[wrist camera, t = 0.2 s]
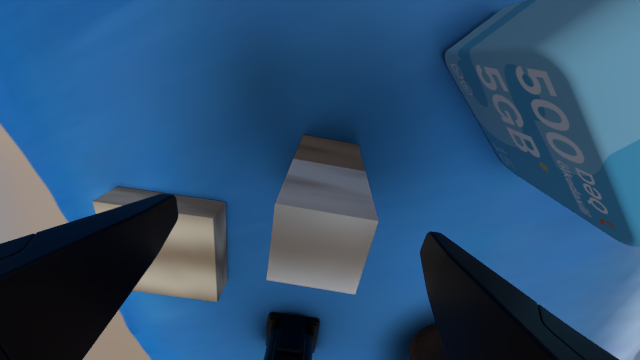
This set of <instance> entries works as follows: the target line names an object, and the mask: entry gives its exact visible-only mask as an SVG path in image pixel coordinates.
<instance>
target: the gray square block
mask: <svg viewBox="0 0 640 360" xmlns="http://www.w3.org/2000/svg"><path fill="white" fill-rule="evenodd" d="M378 222H379V221H378V217H377V213H376V209H375V206H374V202H373V198H372V194H371V190H370V187H369V183H368V179H367V175H366V171H365V168H364V164H363V160H362V156H361V152H360V149H359V145H357V144H352V143H346V142H341V141H335V140H329V139H324V138H318V137H313V136H307V135H303V136H302V139H301V141H300V144H299V146H298V148H297V151H296V153H295V156H294V158H293V161H292V163H291V166H290V168H289V171H288V173H287V175H286V178H285V180H284V183H283V185H282V188H281V190H280V193H279V195H278V197H277V200H276V202H275V209H274V218H273V227H272V236H271V245H270V254H269V263H268V272H267V280H270V281H276V282H282V283H288V284H294V285H300V286H306V287H312V288H318V289H324V290H330V291H336V292H342V293H348V294H354V295H355V293H356V290H357V287H358V284H359V281H360V278H361V275H362V272H363V268H364V265H365V262H366V259H367V256H368V253H369V250H370V247H371V244H372V240H373V237H374V234H375V231H376V228H377V225H378Z"/></svg>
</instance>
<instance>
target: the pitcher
mask: <svg viewBox="0 0 640 360" xmlns="http://www.w3.org/2000/svg"><path fill="white" fill-rule="evenodd" d="M409 355H410V359H411V360H447V358H446V355H445V351H444V348H443V345H442V341H441V338H440V335H439V331H438V328H437V325H436V324H434V325H431V326H429V327H427V328H425V329H423V330H422V331H420V332H419V333H418V334H417V335H416V336H415V337H414V339H413V340H412V342H411V344H410V347H409Z"/></svg>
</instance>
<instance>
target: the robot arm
mask: <svg viewBox="0 0 640 360" xmlns="http://www.w3.org/2000/svg"><path fill="white" fill-rule="evenodd" d="M177 220H178V206H177V199H176V196H175V195H172V194H165V193H162V194H158V195H155V196H152V197H149V198H145V199H142V200H139V201H136V202H133V203H129V204H126V205H123V206H120V207H117V208H114V209H110V210H107V211H104V212H101V213H98V214H94V215H91V216H88V217H85V218H82V219H78V220H75V221H72V222H69V223H66V224H63V225H60V226H56V227H53V228H50V229H47V230H44V231H40V232H37V233H36V234H30V235H27V236H24V237H21V238H18V239H14V240H12V241H8V242H5V243H2V244H0V360H82V359H83V358H84V357H85V355H86V354H87V352H88V351H89V350H90V348H91V347H92V346H93V344H94V343H95V341H96V340H97V339H98V337H99V336H100V334H101V333H102V332H103V330H104V329H105V328H106V326H107V325H108V323H109V322H110V321H111V319H112V318H113V317H114V315H115V314H116V312H117V311H118V310H119V308H120V307H121V306H122V304H123V303H124V301H125V300H126V299H127V297H128V296H129V294H130V293H131V292H132V290H133V289H134V288H135V286H136V285H137V283H138V282H139V281H140V279H141V278H142V276H143V275H144V274H145V272H146V271H147V270H148V268H149V267H150V265H151V264H152V263H153V261H154V260H155V258H156V257H157V255H158V254H159V252H160V250H161V249H162V247H163V245H164V243H165V241H166V240H167V238H168V236H169V234H170V233H171V231H172V229H173V227H174V226H175V224H176V222H177ZM420 257H421V262H422V268H423V273H424V279H425V284H426V289H427V294H428V298H429V301H430V305H431V308H432V311H433V315H434V318H435V321H436V325H437V328H438V331H439V335H440V338H441V341H442V345H443V348H444V351H445V355H446V358H447V360H619V359H617V358H616V357H614V356H613V355H611V354H610V353H608V352H607V351H605V350H604V349H602V348H601V347H599V346H598V345H596V344H595V343H593V342H592V341H591V340H589V339H588V338H586V337H585V336H583V335H582V334H580V333H579V332H577V331H576V330H574V329H573V328H571V327H570V326H569V325H567V324H566V323H564V322H563V321H562V320H560V319H559V318H557V317H556V316H554V315H553V314H552V313H550V312H549V311H548V310H546V309H545V308H543V307H542V306H541V305H537V303H536V302H535V301H534V300H532V299H531V298H530V297H528V296H527V295H525V294H524V293H523V292H521V291H520V290H519V289H517V288H516V287H514V286H513V285H512V284H510V283H509V282H508V281H506V280H505V279H503V278H502V277H501V276H499V275H498V274H497V273H495V272H494V271H492V270H491V269H490V268H488V267H487V266H486V265H484V264H483V263H481V262H480V261H479V260H477V259H476V258H475V257H473V256H472V255H470V254H469V253H468V252H466V251H465V250H464V249H462V248H461V247H459V246H458V245H457V244H455V243H454V242H453V241H451V240H450V239H448V238H447V237H446V236H444V235H443V234H441V233H438V232H428V233H427V235H426V237H425V240H424V242H423V245H422V247H421V251H420ZM319 323H320V321H319V320H318V319H313V318H306V317H298V316H291V315H284V314H277V313H270V314H269V316H268V326H267V340H266V346H267V348H266V352H265V356H264V360H312V353H314V349H315V344H316V339H317V335H318V330H319Z"/></svg>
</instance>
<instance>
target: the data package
mask: <svg viewBox="0 0 640 360" xmlns="http://www.w3.org/2000/svg"><path fill="white" fill-rule="evenodd" d="M445 62H446V65H447V67H448V69H449V71H450V73H451V75H452V76H453V78H454V80H455V82H456V83H457V85H458V87H459V89H460V90H461V92H462V94H463V96H464V98H465V99H466V101H467V103H468V105H469V106H470V108H471V110H472V112H473V113H474V115H475V117H476V119H477V120H478V122H479V124H480V126H481V127H482V129H483V131H484V133H485V134H486V136H487V138H488V140H489V141H490V143H491V145H492V147H493V149H494V150H495V152H496V154H497V155H498V157H499V158H500V160H501V161H502V162H503V164H504V165H505V166H506V167H507V168H508V169H509V170H510V171H512V172H513V173H514V174H516V175H517V176H519V177H520V178H522V179H524V180H525V181H527V182H528V183H530V184H531V185H533V186H534V187H536V188H537V189H539V190H540V191H542V192H543V193H545V194H547V195H548V196H550V197H551V198H553V199H554V200H556V201H557V202H559V203H560V204H562V205H563V206H565V207H567V208H568V209H570V210H571V211H573V212H574V213H576V214H577V215H579V216H580V217H582V218H583V219H585V220H586V221H588V222H590V223H591V224H593V225H594V226H596V227H597V228H599V229H600V230H602V231H603V232H605V233H606V234H608V235H610V236H611V237H613V238H614V239H616V240H618V241H619V242H622V243H624V244H626V245H630V246H640V0H525V1H522V2H518V3H515V4H511V5H508V6H505V7H504V8H502V9H501V10H500V11H498V12H497V13H496V14H494V15H493V16H492V17H490V18H489V19H488V20H486V21H485V22H484V23H483V24H481V25H480V26H479V27H477V28H476V29H475V30H473V31H472V32H471V33H469V34H468V35H467V36H465V37H464V38H463V39H461V40H460V41H459V42H458V43H456V44H455V45H454V46H452V47H451V48H450V49H448V50H447V51H446V53H445Z"/></svg>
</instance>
